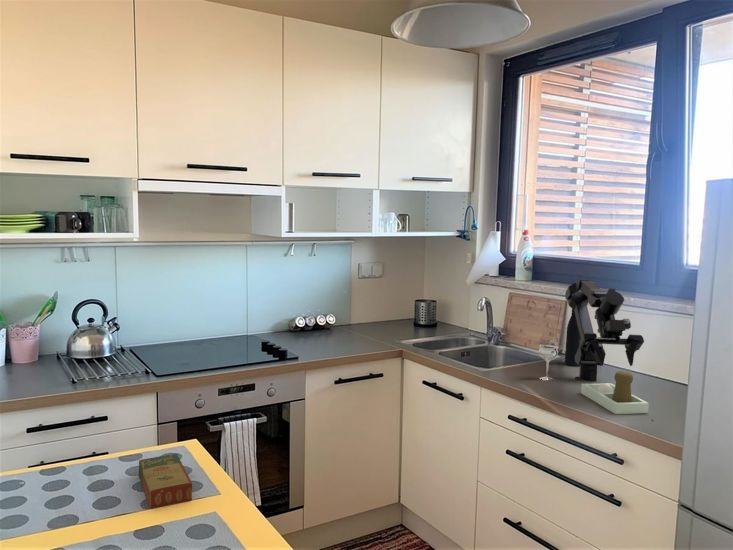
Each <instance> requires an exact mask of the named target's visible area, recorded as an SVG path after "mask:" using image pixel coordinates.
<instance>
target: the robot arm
mask: <svg viewBox="0 0 733 550" xmlns="http://www.w3.org/2000/svg"><path fill="white" fill-rule="evenodd" d="M564 296H565V300H566V301H567V306H568V307H569V308H571V310H572V309H573V310H574V311H575V316H576V320H577V324H578V329H579V333H580V337H581V339H580V341H579V344H580V346H579V348H578V351H577V353H576V355H575V362H576V363H577V364H578V365H580V366H579V372H578V376H575V377H574V379H576V380H579V381H580V380H581V381H582V380H584V381H588V382H597V380H598V379H597V378H598V366H601V367H603V366H604V363H605V358H606V350H605V348H604V345H611V346H612V345H614V346H615V345H617V346H624V348H625V355H626V359H627V362H628V363H629V364H628V365H629V366H630V367H632V366H633V365H634V357H635V353H636V352H637V351H639V350H640V349H641V347H642V346H643V345H644V343H645V340H644V337H643V335H641V334H632V333H631V334H629V335H628V336H627V338H621V337H622V336H623V332H624V331H626V330H629V329H631V327H632V324H631V323H632V322H631V320H630V318H623V319H616V317H615V315H616V314H618V312H620V311H619V310H620V309H621V307H622V306H623V303H624V301H625V298H624V296H623V295H622V294H621V293H619V292H618V291H616V289H615V288H608V289H602V288H600V287H598V286H597V284H595V283H593V280H592V279H589V278H586V279H585V278H584V279H583V278H579V279H577V280H576V281H575V282H574V283H572V284H570V285H569V286H568V287H567V289H566V290H565V294H564ZM588 304H589V306H590V307H591V308H596V309H595V311H594V319H595V320H596V323H597V333H599V336H600V337H598V335H597V333H595V332H594V330H593V324H592V320H591V317H590V313H589V309H588Z"/></svg>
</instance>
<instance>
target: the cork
mask: <svg viewBox="0 0 733 550" xmlns="http://www.w3.org/2000/svg"><path fill="white" fill-rule="evenodd" d="M613 378H614V381H615V384H614V385H615V389H614V394H613V398H612V400H613V401H615V402H617V403H628V402H632V398H631V394H632V383H633V380H634V376H633V374H632V373H631V372H628V371H624V370H623V371H622V370H619V371H616V372H615V374H614V377H613Z"/></svg>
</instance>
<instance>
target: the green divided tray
mask: <svg viewBox="0 0 733 550" xmlns="http://www.w3.org/2000/svg"><path fill="white" fill-rule="evenodd" d="M600 384H601V383H581V387H580V388H581V391H580V393H581V394H582V395H583V396H585V397H587V398H588V399H590V400H592V401H594V402H595V403H597V404H599V405H600V406H602V407H603V408H605V409H606V410H608V411H610V412H611V413H613V414H615V415H622V414H623V415H624V414H625V415H627V414H628V415H629V414H648V413H649V402H647V401H646V400H643V399H641V398H639V397H638V396H636V395H634V394H633V393H631V398H632V402H628V403H617V402H615V401H613V400H612V398H613V394H614V389H615V385H616V384H613V383H607V382H606V384H609V385H610V386H611V387H612V389H613V393H599V392H598V391H597V389H598V386H599V385H600Z"/></svg>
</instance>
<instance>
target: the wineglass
mask: <svg viewBox="0 0 733 550" xmlns="http://www.w3.org/2000/svg"><path fill="white" fill-rule="evenodd" d="M558 349H559V346H558V345H555V344H549V343H545V344H544V343H543V344H539V348H538V354H539V357H540V358H541V359H542V360H544V361H545V362H546V371H545V372H546V376H541V377H539V380H541V379H542V380H541V381H553V380H552V379H553V378H552V377H550V376H549V373H548V372H549V364H550V363H551V361H554V360H555V359H556V358H558V356H559V350H558Z"/></svg>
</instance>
